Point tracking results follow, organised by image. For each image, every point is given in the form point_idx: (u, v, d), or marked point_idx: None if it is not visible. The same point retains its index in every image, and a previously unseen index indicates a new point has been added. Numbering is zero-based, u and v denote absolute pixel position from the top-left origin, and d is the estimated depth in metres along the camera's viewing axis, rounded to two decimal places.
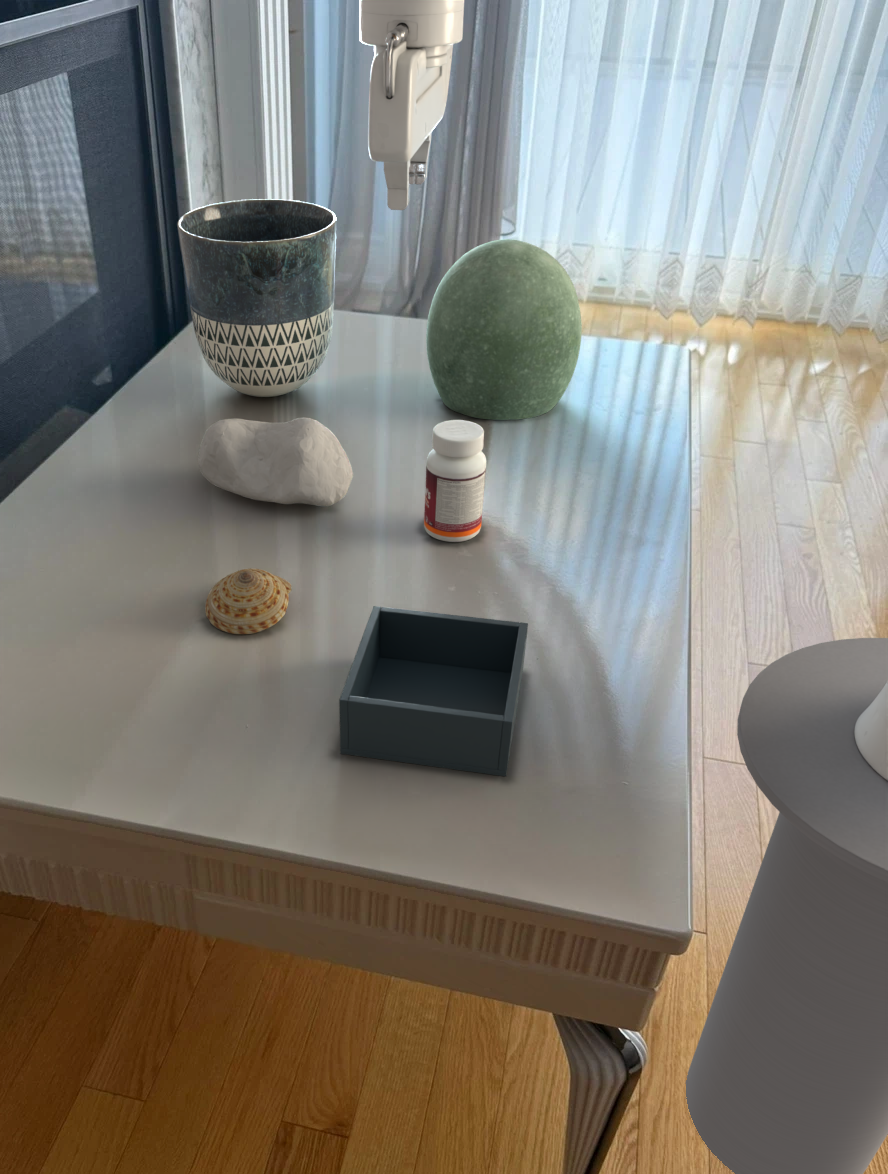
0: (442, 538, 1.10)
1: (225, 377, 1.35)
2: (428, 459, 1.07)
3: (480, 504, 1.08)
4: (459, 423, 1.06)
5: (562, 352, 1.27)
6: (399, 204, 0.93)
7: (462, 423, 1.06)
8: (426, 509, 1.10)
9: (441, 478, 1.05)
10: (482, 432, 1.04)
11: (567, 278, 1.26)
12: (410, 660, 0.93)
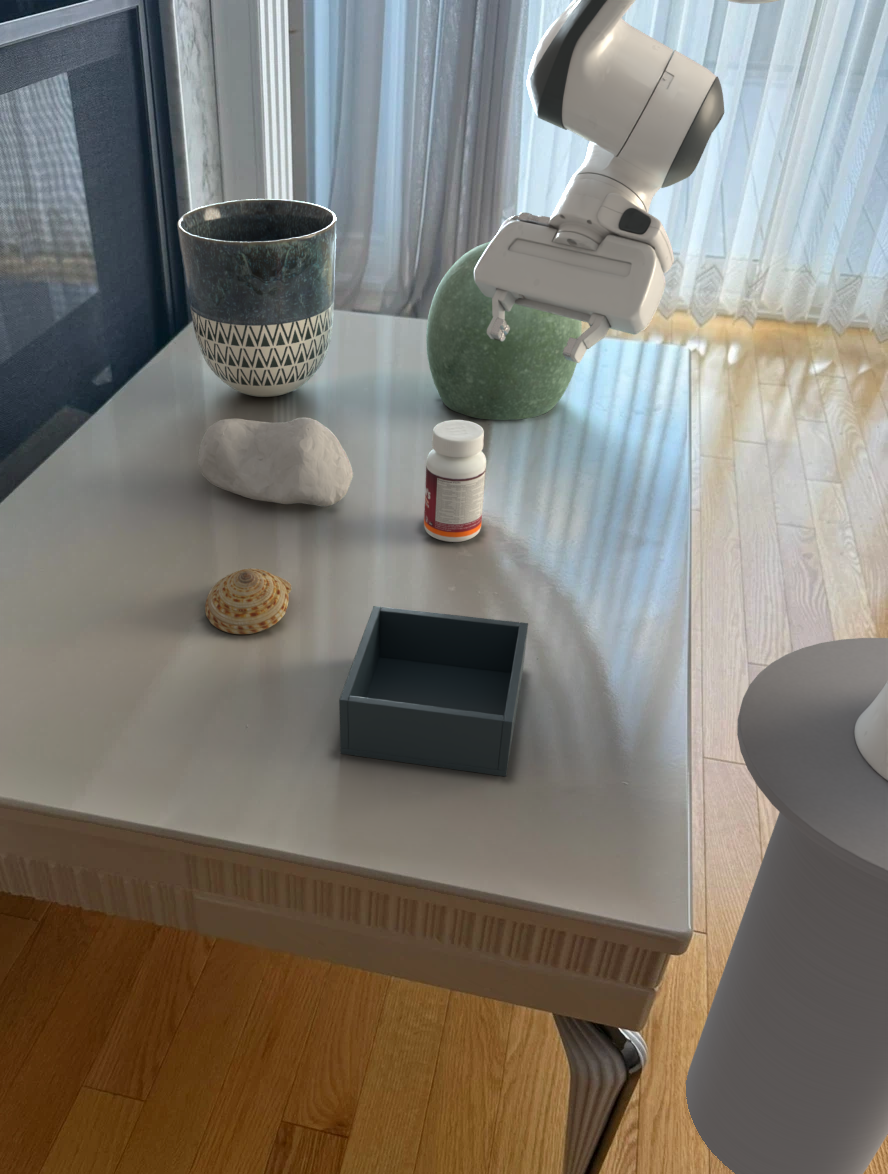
0: (442, 538, 1.10)
1: (225, 377, 1.35)
2: (428, 459, 1.07)
3: (480, 504, 1.08)
4: (459, 423, 1.06)
5: (562, 352, 1.27)
6: None
7: (461, 423, 1.06)
8: (426, 509, 1.10)
9: (441, 478, 1.05)
10: (482, 432, 1.04)
11: None
12: (410, 660, 0.93)
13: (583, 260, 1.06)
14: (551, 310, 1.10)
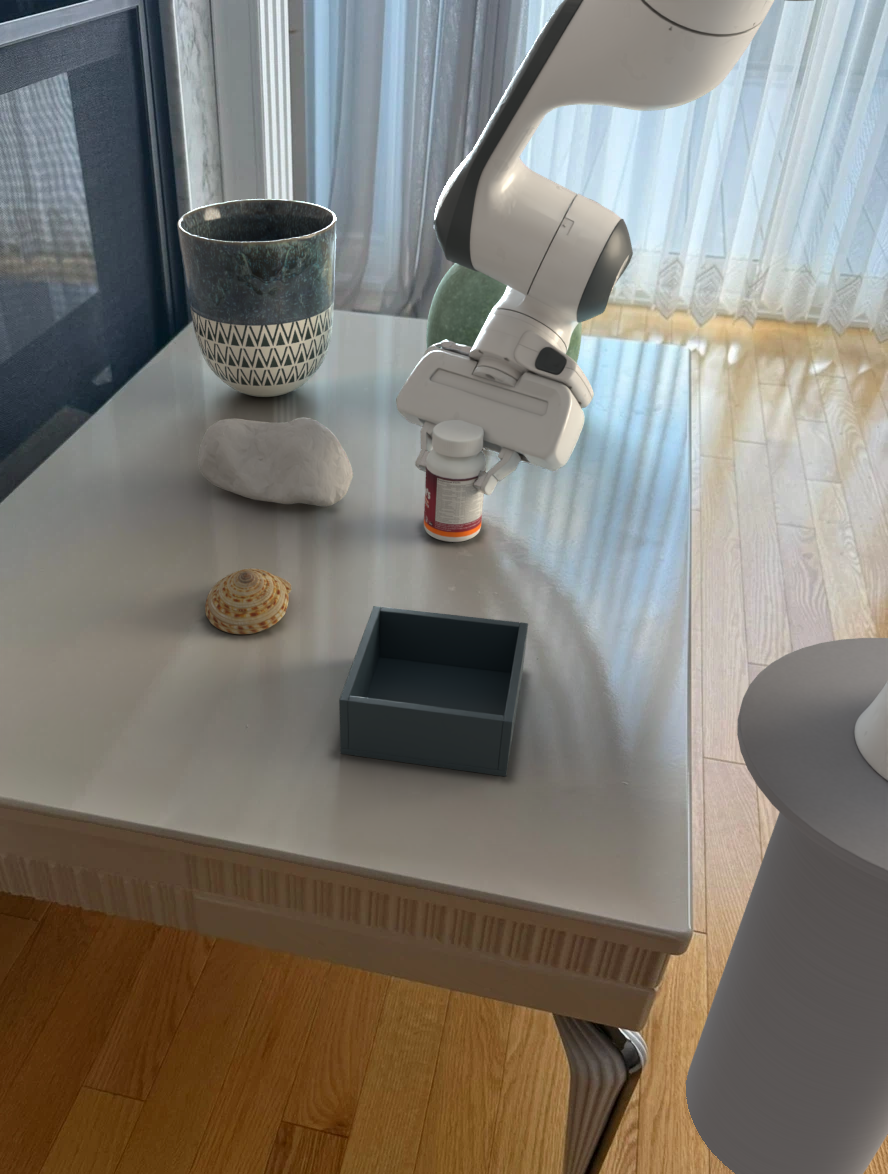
0: (442, 538, 1.10)
1: (225, 377, 1.35)
2: (427, 459, 1.07)
3: (480, 504, 1.08)
4: (459, 423, 1.06)
5: None
6: None
7: (461, 423, 1.06)
8: (426, 509, 1.10)
9: (441, 478, 1.06)
10: (482, 432, 1.04)
11: None
12: (410, 660, 0.93)
13: (502, 395, 1.05)
14: None
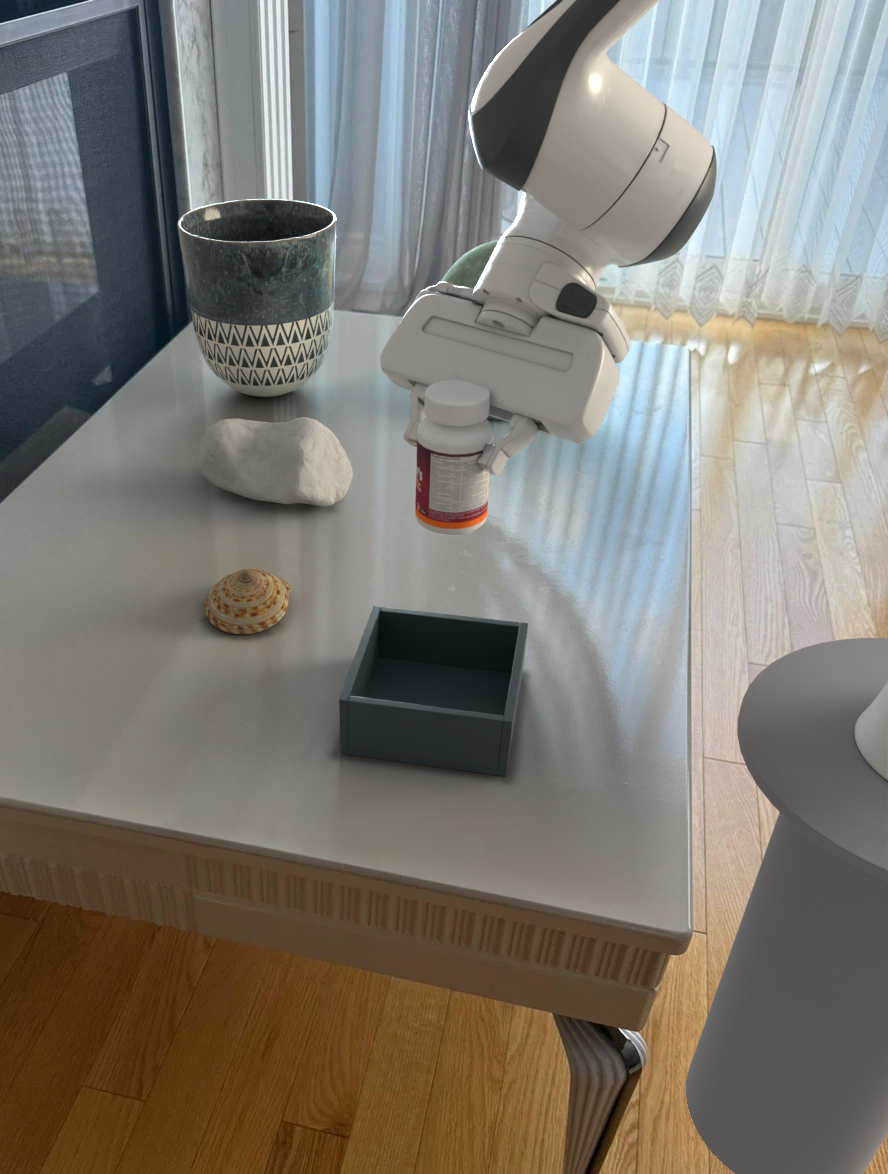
0: (438, 530, 0.87)
1: (225, 377, 1.35)
2: (419, 430, 0.84)
3: (486, 487, 0.86)
4: (458, 384, 0.83)
5: None
6: None
7: (462, 383, 0.83)
8: (417, 494, 0.87)
9: (436, 454, 0.83)
10: (488, 394, 0.82)
11: None
12: (410, 660, 0.93)
13: (513, 347, 0.83)
14: None
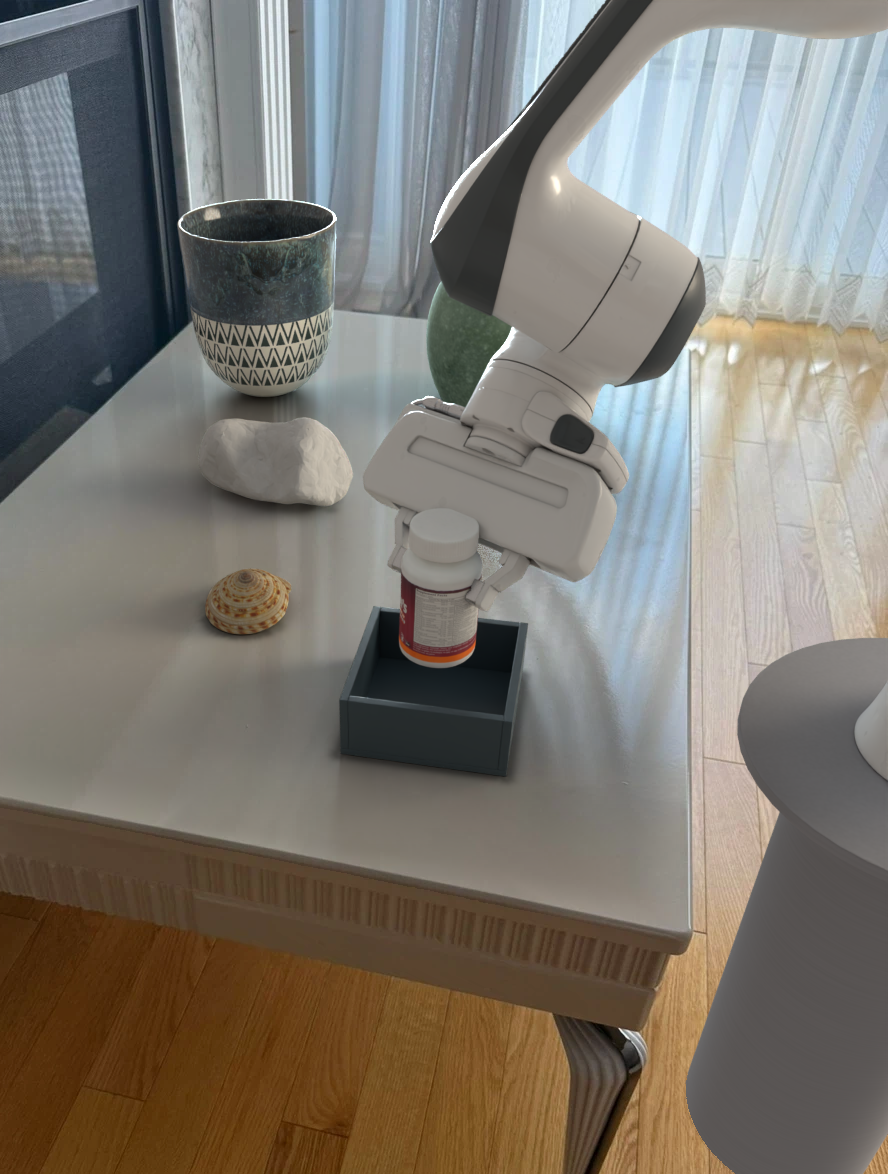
0: (423, 663, 0.82)
1: (225, 377, 1.35)
2: (403, 562, 0.79)
3: (474, 620, 0.81)
4: (445, 514, 0.78)
5: None
6: None
7: (449, 513, 0.78)
8: (401, 625, 0.82)
9: (421, 589, 0.78)
10: (477, 528, 0.76)
11: None
12: (410, 660, 0.93)
13: (504, 477, 0.77)
14: None
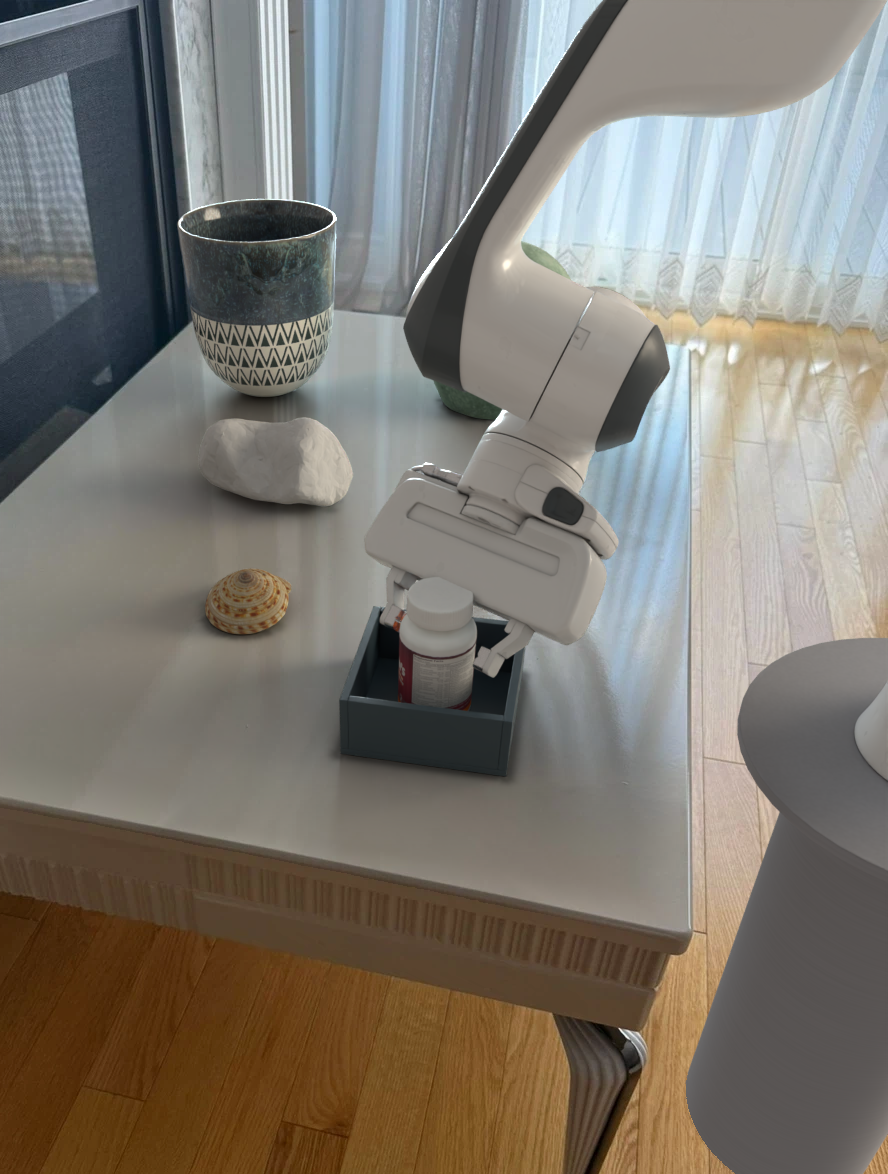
0: None
1: (225, 377, 1.35)
2: (401, 629, 0.82)
3: (469, 682, 0.84)
4: (441, 583, 0.82)
5: None
6: None
7: (445, 582, 0.82)
8: (400, 686, 0.86)
9: (418, 655, 0.81)
10: (471, 597, 0.80)
11: None
12: None
13: (499, 544, 0.81)
14: None
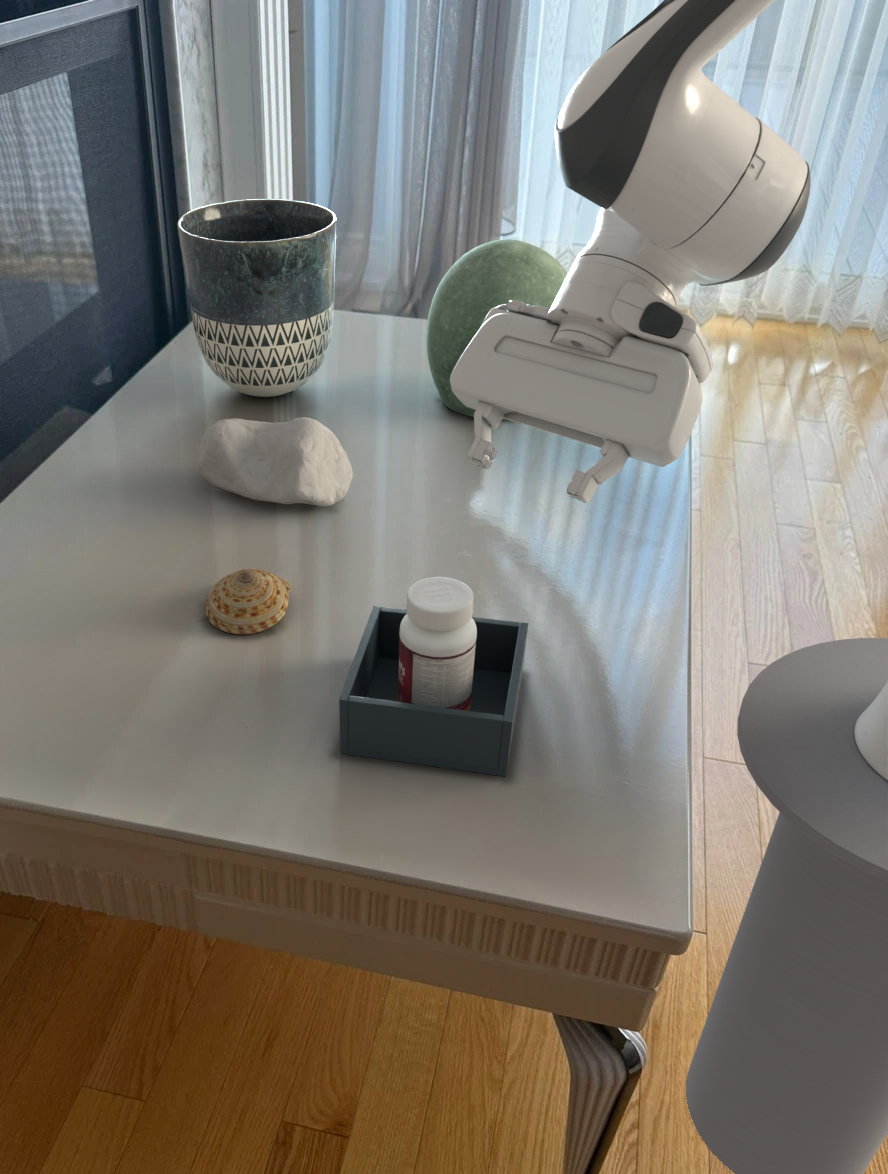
0: None
1: (225, 377, 1.35)
2: (401, 628, 0.82)
3: (469, 682, 0.84)
4: (441, 583, 0.82)
5: None
6: None
7: (445, 582, 0.82)
8: (400, 686, 0.86)
9: (418, 655, 0.81)
10: (471, 597, 0.80)
11: None
12: None
13: (592, 368, 0.80)
14: (552, 429, 0.84)
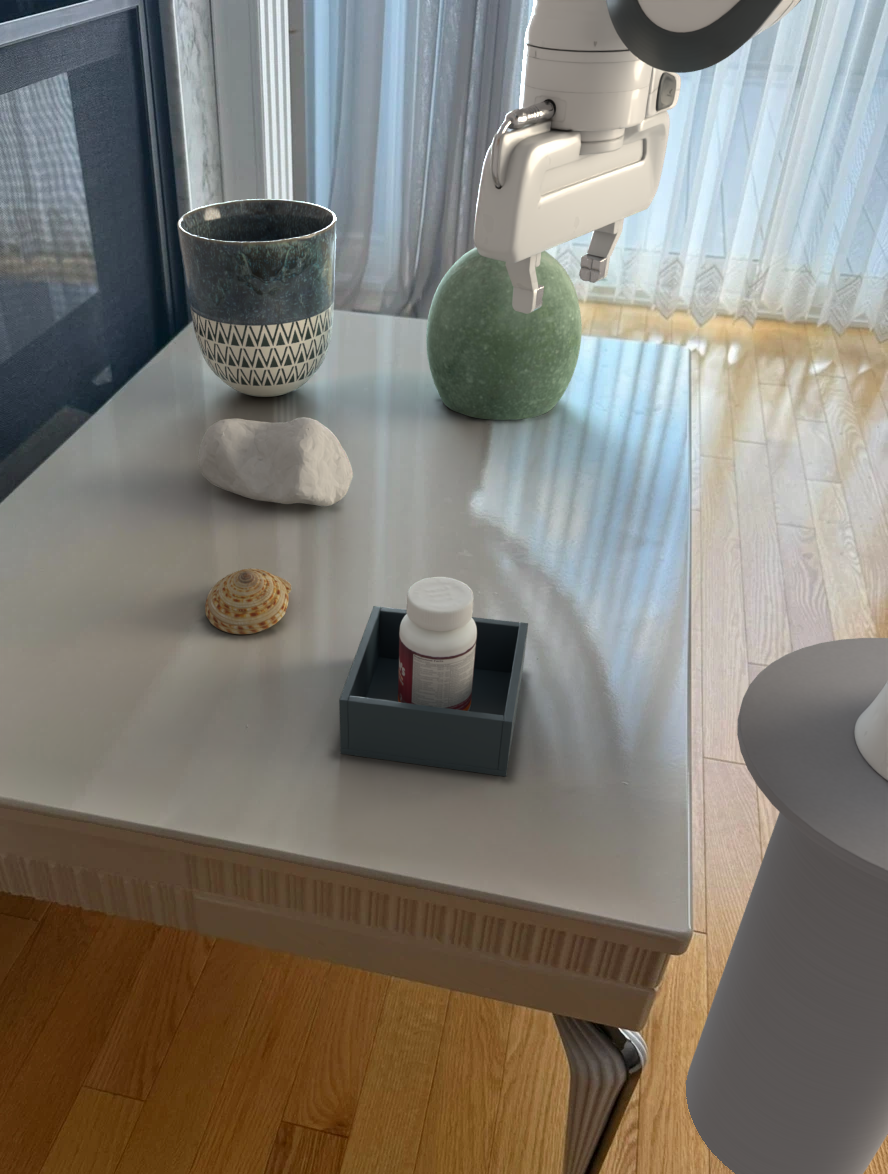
0: None
1: (225, 377, 1.35)
2: (401, 628, 0.82)
3: (469, 682, 0.84)
4: (441, 583, 0.82)
5: (562, 352, 1.27)
6: (524, 306, 0.79)
7: (445, 582, 0.82)
8: (400, 686, 0.86)
9: (418, 655, 0.81)
10: (471, 597, 0.80)
11: (567, 278, 1.26)
12: None
13: (606, 160, 0.76)
14: None
